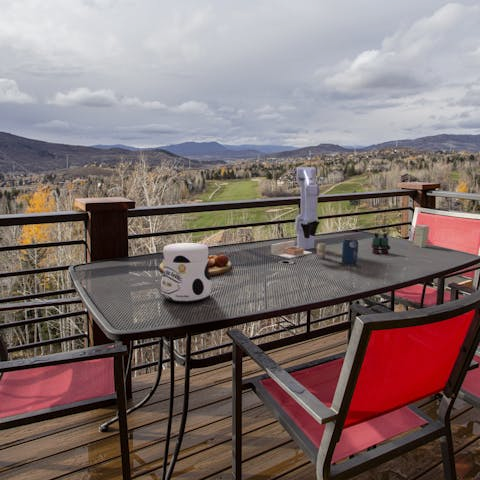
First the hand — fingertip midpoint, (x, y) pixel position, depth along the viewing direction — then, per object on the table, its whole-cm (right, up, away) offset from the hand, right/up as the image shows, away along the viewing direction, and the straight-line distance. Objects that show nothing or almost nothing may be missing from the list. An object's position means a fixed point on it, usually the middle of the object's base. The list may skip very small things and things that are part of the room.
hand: (309, 236), depth 200 cm
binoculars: (+39, -9, +12) cm, 42 cm away
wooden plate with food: (-54, -14, -20) cm, 59 cm away
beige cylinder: (+6, -10, +1) cm, 12 cm away
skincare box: (+69, -5, +32) cm, 76 cm away
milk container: (-53, -22, -59) cm, 82 cm away
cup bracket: (-8, -9, +9) cm, 15 cm away
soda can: (+17, -13, -10) cm, 23 cm away
